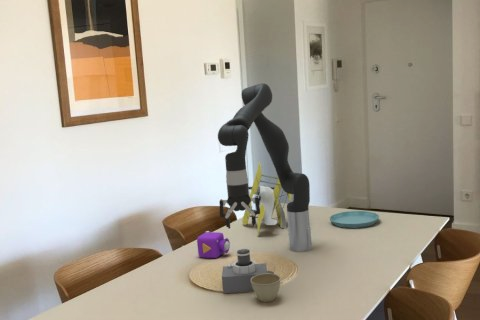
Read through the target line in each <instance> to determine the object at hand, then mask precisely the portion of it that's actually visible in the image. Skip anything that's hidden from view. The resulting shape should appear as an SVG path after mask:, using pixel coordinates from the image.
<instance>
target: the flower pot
mask: <svg viewBox="0 0 480 320" xmlns="http://www.w3.org/2000/svg"><path fill="white" fill-rule="evenodd" d="M251 284H252V288H253V290H254V291H253V292H254V294H255V295H256V297H257V298H258V300H259V301H260V302H263V303H269V302H272V301H274V300H275V299H276V297H277V295H278V292H279V290H280V287H281V276H280V275H279V274H276V273H274V274H271V273H265V274H259V275H256V276H254V277H252V278H251Z"/></svg>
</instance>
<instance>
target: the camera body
mask: <svg viewBox="0 0 480 320" xmlns="http://www.w3.org/2000/svg"><path fill="white" fill-rule="evenodd" d="M250 262H251V265H249V266H238V260H236V261H234V262H232V263H228V264H226V266H225V265H224V266H222V271H221V282H222V283H221V285H222V294H237V293H248V292H249V293H250V292H254V290H253V288H252V284H251V278H252V277H254V276H256V275H259V274H265V273H267V271H268V268H267V263H266V262H265V263H264V262H263V263H256V261H255V260H252V259H250Z"/></svg>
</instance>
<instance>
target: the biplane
mask: <svg viewBox="0 0 480 320" xmlns="http://www.w3.org/2000/svg"><path fill="white" fill-rule="evenodd" d="M263 177H264V178H265V179H264V180H262V178H263ZM267 178H269V179H275V180H276V182H273V181H266V180H267ZM260 183H264V184H265V183H266V184H270V185H275V186H274V187H271V186H270V187H269V186H266V185H260ZM248 187H249V191H250V192H249V196H250V198H253V197H254V195H256V196H257V197H258V200H259V207H260V214H257V215H256V216H255V217H256V219H257V221H256V225H257V234H256V236H257V237H258V236H259V232H260V229H261V224H262V223H264V225H266V226H276V225H277V224H279V226H280V228H281V229H287V221H286V214H285V211H284V208H285V204H286V201H287V198H288V201H290V202H293V200H294V194H288V193H285V194H284V191H282V192H281V190H282V187H281V184H280V181H279V178H278V176H277V177H276V176H272V175H266V174H262V166H261V161H259V162H258V165H257V169H256V173H255V176H254V179H253V183H252V185H251V186H248ZM280 193H281V194H280ZM279 195H280V196H279ZM282 196H283V197H284V196H285V200H284V199H282V202H281V198H282ZM283 200H284V201H285V202H284V204H283V205H282V203H283ZM249 206H250V207H251V208H252V210H253V211H256V209H253V205H252V201H251V202H250V204H249ZM274 211H275V212H276V216H277V217H274V218H272V217H273V214H274ZM250 218H252V216H251V214H250V213H249V212H248V211H247V210H246V209H245V210H244V213H243V216H242V224H243V225H244V226H247V225H248V222H249V219H250Z"/></svg>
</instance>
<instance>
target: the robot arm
mask: <svg viewBox="0 0 480 320" xmlns="http://www.w3.org/2000/svg"><path fill="white" fill-rule="evenodd" d="M241 100H242V103H243V106H242V107H241V108H239V109H238V110H237V112H235V115H234V116H233V117H232V118H231V119H230V120H228V121H227V122H225V123H223V125H221V126H220V128H219V129H218V132H217V141H218V142H219V144H220V145H221V146H224V147H235V146H236V150H235V151H231V152H229V153H226V155H225V156H224V157H225V158H224V161H225V171H226V174H225V179H226V180H225V183H226V189H227V190H226V191H227V199H219V201H218V202H219V217H220V218H224V220H225V226H226V228H227V229H229V230H230V229H231V219H230V216H231V214H232V213H233V211H234V212H239V211H240V212H241V211H242V212H243V211H244V212H245V210H247V211H248V212H249V213H250V215H251V216H252V217H251V226H252V227H255V225H257V218H256V217H257V216H258V215H259V214H260V206H259V200H258V198H259V196H258V195H256V196H253V197H252V198H250V189H249V187H250V186H249V176H248V171H247V165H246V163H247V162H246V154H247V153H246V152H247V147H248V146H247V145H248V141H249V136H250V135H249V129H250V128H251V127H252V125H253V123H254V125H255V127H256V129H257V131H258V133H259V135H260V137H261V139H262V142H263V145H264V147H265V149H266V151H267V153H268V155H269V158H270V159H271V162H272V164H273V167H274V169H275V172H276V175H277V178H279V181H280V184H281V187H282V188H281V190H282V191H283V192H285V194H287V193H288V194H294V200H293V201H290V202H288V203H287V204H286V217H287V231H288V241H289V242H288V247H289V250H290V251H292V252H297V253H298V252H300V253H301V252H308V251H311V250H313V246H312V229H311V227H310V226H311V225H310V212H309V210H310V209H309V205H310V202H311V201H310V199H311V197H310V186H311V185H310V180H309V178H308V176H307V174H304V173H299V172H293V170H292V168H291V165H290V163H289V159H288V158H289V151H290V146H289V141H288V140H287V137H286V135H285V133H284V131H283V130H282V128H280V126H279V125H277V124H275V123H274V122H273V121H271V120H270V119H268V118H267V117H266V116H265V114H263V111H265V110H266V108H267V107H269V106H270V105H271V103H272V102H273V92H272V90H271V88H270V86H269V84H267V83H257V84H254V85H251V86H248V87H246V88H243V89H242V90H241ZM257 196H258V197H257ZM250 202H251V203H253V205H254V204H255V210H256V211H253V210H254V209H253V207H252V208H251V207H250V206H249V204H250ZM226 204H227V205H228V206H229V208H228V210H227V211H226V213H225V212H224V207H225V206H226ZM255 216H256V217H255Z"/></svg>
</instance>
